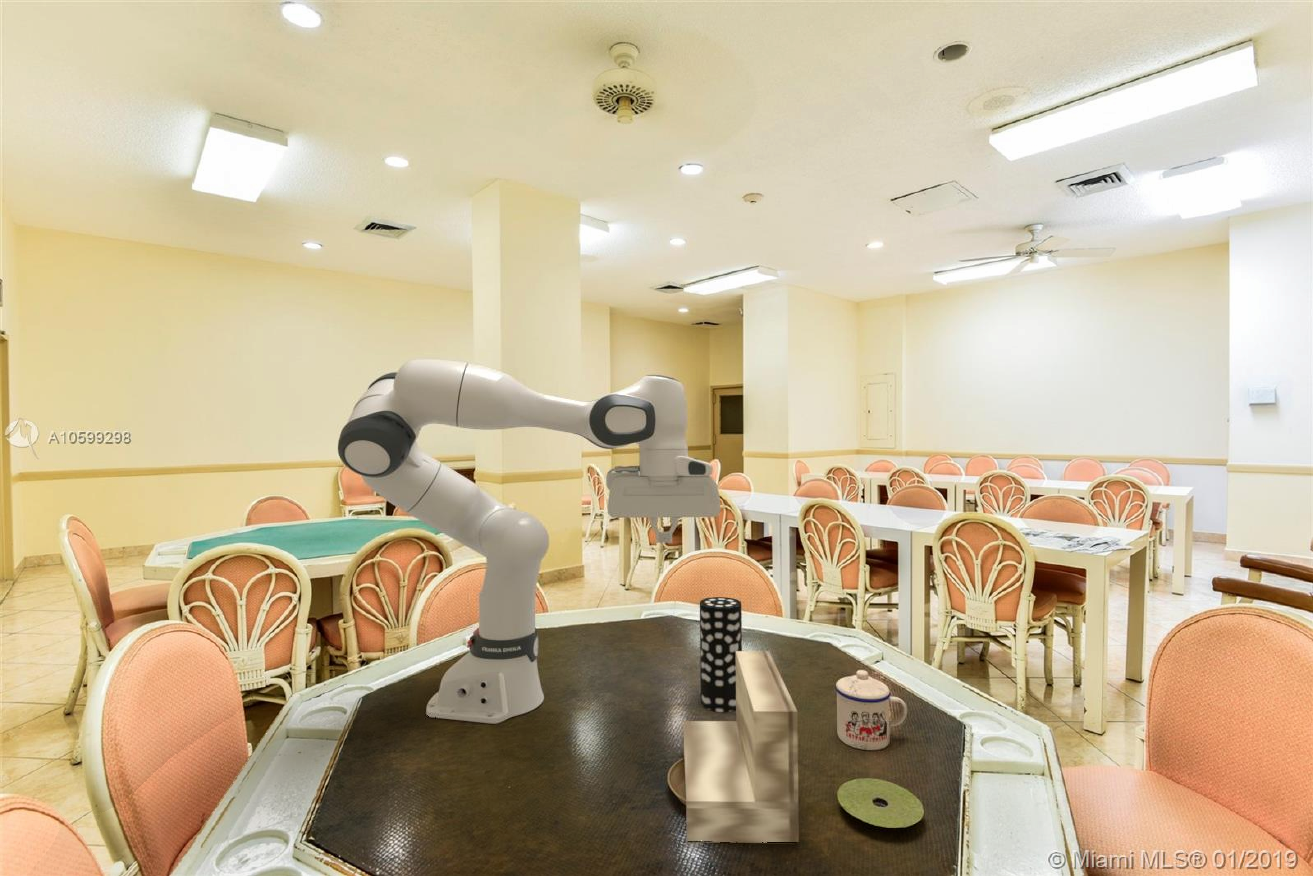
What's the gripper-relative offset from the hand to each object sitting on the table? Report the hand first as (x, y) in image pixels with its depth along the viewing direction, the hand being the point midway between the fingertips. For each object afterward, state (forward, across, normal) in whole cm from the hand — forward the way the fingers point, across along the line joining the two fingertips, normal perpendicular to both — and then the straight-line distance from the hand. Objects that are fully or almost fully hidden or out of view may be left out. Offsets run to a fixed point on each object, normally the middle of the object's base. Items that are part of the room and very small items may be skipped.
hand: (664, 542), depth 106 cm
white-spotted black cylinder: (+34, +11, +12) cm, 38 cm away
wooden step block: (+34, +10, -18) cm, 40 cm away
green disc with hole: (+34, +30, -23) cm, 51 cm away
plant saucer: (+35, +8, -18) cm, 40 cm away
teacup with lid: (+34, +36, -2) cm, 50 cm away
